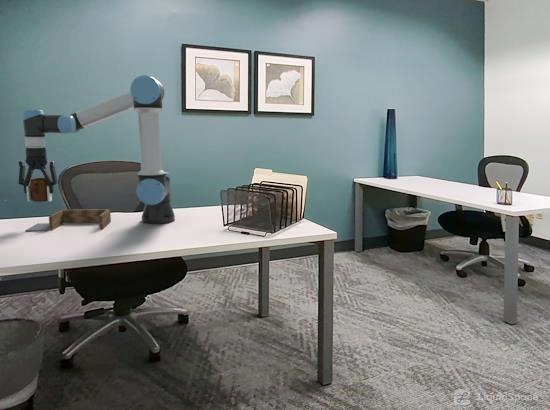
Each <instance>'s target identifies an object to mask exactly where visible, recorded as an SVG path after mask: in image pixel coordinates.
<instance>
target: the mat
mask: <svg viewBox="0 0 550 410" xmlns="http://www.w3.org/2000/svg"><path fill="white" fill-rule="evenodd" d="M49 231H51V230H50V225H49V222H47V223H46V222H44V223H43V222H42V223H41V222H40V223H38V222H37V223H36V224H34V225H32V226H31V227H28V228H27V229H25V233H31V232H33V233H34V232H49Z"/></svg>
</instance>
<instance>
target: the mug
mask: <svg viewBox="0 0 550 410" xmlns="http://www.w3.org/2000/svg"><path fill="white" fill-rule="evenodd" d="M29 186H30V189H31V195H32V201H31V202H35V203H36V202H37V203H43V202H48V195H47V186H48V183H47V181H46V179H45V177H35V178H31V179H30V183H29Z"/></svg>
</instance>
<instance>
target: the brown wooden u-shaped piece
mask: <svg viewBox="0 0 550 410" xmlns="http://www.w3.org/2000/svg"><path fill="white" fill-rule="evenodd" d="M111 216H112V215H111V208H104V209H103V208H102V209H100V208H99V209H98V208H97V209H96V208H95V209H88V208H87V209H60V210H58V211H56V212H55V213H53V214H51V215H50V216H48V223H49V225H50V230H49V231H55V230H56V229H57V228H59V227H61V226H62V225H64V224H90V223H91V224H94V223H97V224H98V223H99V230H101V231H102V230H104V229H105V228H106V227H108V225H109V224H111V222H112V220H111Z"/></svg>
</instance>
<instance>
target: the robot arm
mask: <svg viewBox="0 0 550 410" xmlns="http://www.w3.org/2000/svg"><path fill="white" fill-rule="evenodd" d="M129 88H130V90H129V91H128V92H126V93H122V94H120V95H118V96H115V97H113V98H110V99H107V100H104V101H102V102H99V103H97V104H94V105H92V106H89V107H86V108H84V109H81V110H78V111H75V112H73V113H70V114H68V115H67V114H45V113H44V111H43V110H42V109H29V108H28V109H24V110H23V112H22V122H23V123H22V124H23V130H24V145H25V156H26V157H25V160H20V161H18V165H19V171H18V172H19V173H18V184H19V185H21V186H23V192H24V194H26V198H27V199H26V200H27V202H29V203H30V202H33V201H32V195H31V189H30V183H31V179H32V176H33V174H34V171H35V170H40V172H41V173H42V174H43V178H45V179H46V181H47V183H48V186H47V195H48V201H47V202H48V203H49V202H52V201H53V195H52V194H54V192H55V191H54V186H55V185H58V183H59V181H58V176H57V172H56V171H57V170H56V167H55V166H56V165H55V164H56V161H54V160H48V158H47V148H46V146H47V145H46V144H47V143H46V134H65V135H66V134H75V133H78V132H79V131H81V130H84V129H85V128H88V127H90V126H93V125H96V124H98V123H100V122H101V123H102V122H104V121H106V120H110V119H111V118H114V117H117V116H120V115H122V114H124V113H127V112H130V111H132V110H135V112H136V113H137V119H138V120H137V121H138V141H139V157H140V170H139V171H138V172H137V186H136V195H137V198H138V200H139V201H140V202H142V203H143V204H144V208H143V211H142V215H141V222H142V223H145V224H166V223H167V224H168V223H170V222H171V223H172V222H174V221H175V220H176V218H175V217H176V216H175V213H174V210H173V206H172V205H171V204H172V203H171V175H170V173H169V172H167V171H166V172H165V171H164V170H163V168H162V153H161V150H162V149H161V132H160V131H161V128H160V126H161V125H160V113H161V112H162V110H163V99H164V97H165V89H164V86H163V84H162V83H161V82H160V81H159V80H158V79H156V78H155V77H154V76H152V75H148V74H144V75H143V74H142V75H140V76H137V77H136V78H134V79H133V80H132V82H131V84H130V87H129ZM26 165H27V166H28V169H27V172H26ZM46 165H48V166H49V171H50V172H48V169H47V167H46ZM25 174H26V176H25Z"/></svg>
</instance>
